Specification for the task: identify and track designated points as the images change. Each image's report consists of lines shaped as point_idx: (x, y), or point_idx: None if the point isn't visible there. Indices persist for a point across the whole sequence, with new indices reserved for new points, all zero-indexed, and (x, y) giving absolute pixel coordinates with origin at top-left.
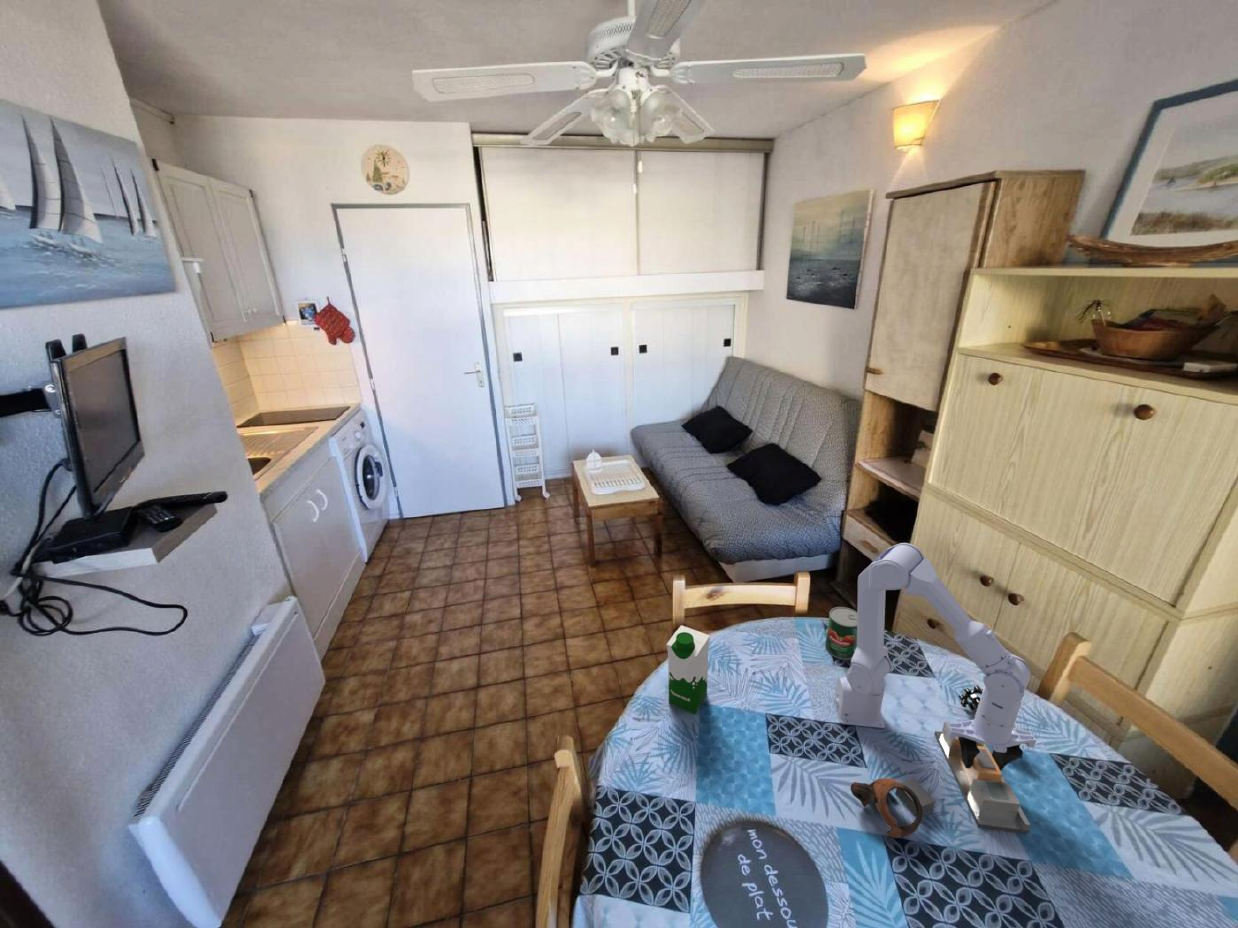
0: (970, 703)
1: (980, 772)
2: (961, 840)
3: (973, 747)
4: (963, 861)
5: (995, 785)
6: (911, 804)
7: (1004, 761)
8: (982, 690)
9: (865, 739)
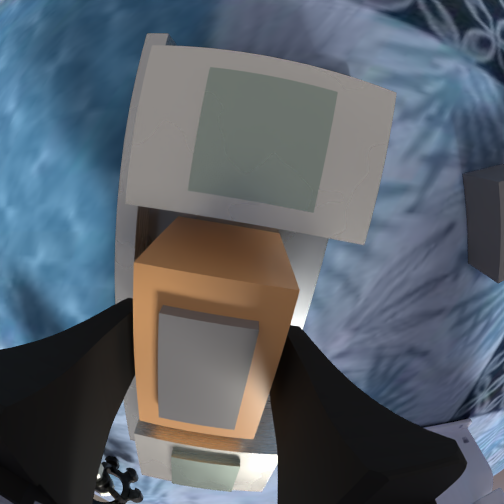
0: (115, 474)
1: (289, 287)
2: (432, 62)
3: (400, 492)
4: (451, 17)
5: (247, 173)
6: None
7: (83, 347)
8: None
9: (459, 393)
